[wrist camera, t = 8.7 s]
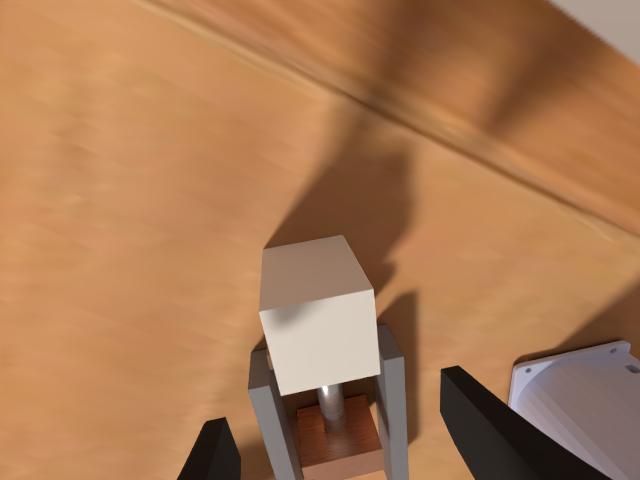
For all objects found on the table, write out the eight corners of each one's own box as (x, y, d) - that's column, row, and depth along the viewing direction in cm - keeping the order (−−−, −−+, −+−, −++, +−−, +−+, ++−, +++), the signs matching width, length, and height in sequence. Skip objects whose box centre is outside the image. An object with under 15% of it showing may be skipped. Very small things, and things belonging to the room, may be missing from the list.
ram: (362, 301, 20) (383, 345, 16) (373, 412, 24) (392, 467, 20) (267, 320, 19) (266, 370, 16) (294, 430, 23) (299, 490, 20)
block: (342, 234, 18) (373, 288, 13) (350, 301, 20) (380, 373, 14) (262, 249, 18) (258, 311, 12) (278, 315, 20) (280, 396, 14)
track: (386, 323, 21) (403, 356, 18) (395, 457, 26) (409, 498, 24) (251, 351, 20) (247, 390, 18) (289, 483, 26) (291, 527, 23)
